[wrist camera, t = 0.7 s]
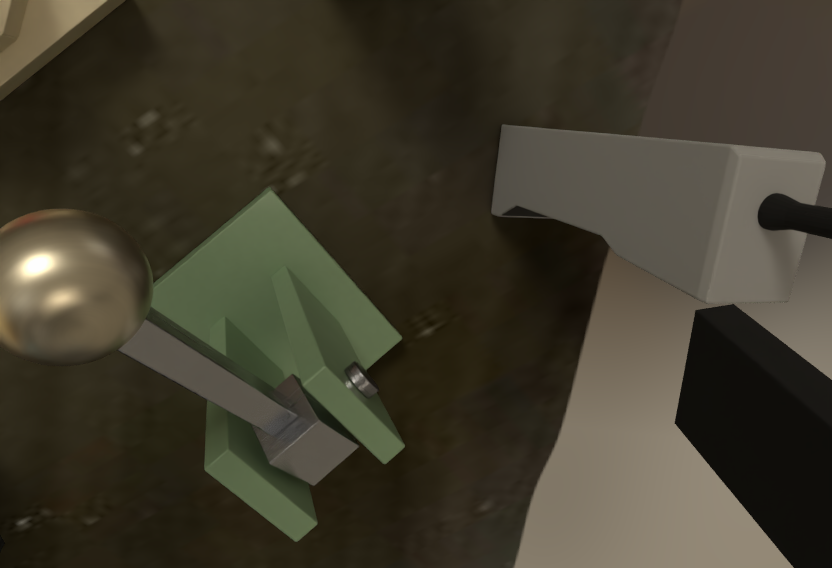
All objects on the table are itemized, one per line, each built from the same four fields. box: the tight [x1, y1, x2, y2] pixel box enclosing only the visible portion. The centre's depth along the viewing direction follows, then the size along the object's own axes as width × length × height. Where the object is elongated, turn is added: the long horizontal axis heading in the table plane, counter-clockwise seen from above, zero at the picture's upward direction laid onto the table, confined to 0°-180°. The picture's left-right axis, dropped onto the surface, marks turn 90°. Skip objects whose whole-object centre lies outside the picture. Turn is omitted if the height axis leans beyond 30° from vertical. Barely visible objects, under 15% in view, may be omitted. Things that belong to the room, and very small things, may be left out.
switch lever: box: [0, 208, 359, 486], centre depth 17 cm, size 13×4×4 cm, turn 37°
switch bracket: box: [151, 187, 405, 542], centre depth 26 cm, size 11×9×14 cm
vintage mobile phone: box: [491, 125, 832, 304], centre depth 23 cm, size 4×5×25 cm
